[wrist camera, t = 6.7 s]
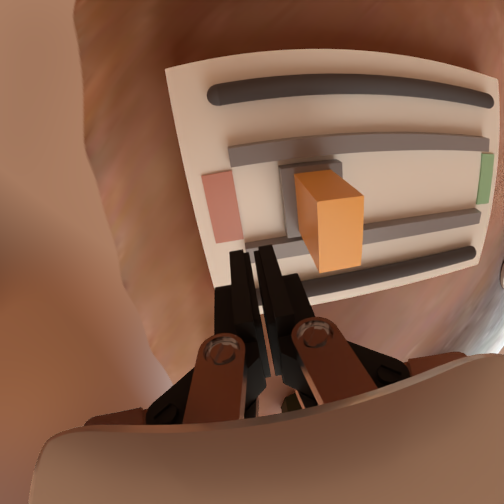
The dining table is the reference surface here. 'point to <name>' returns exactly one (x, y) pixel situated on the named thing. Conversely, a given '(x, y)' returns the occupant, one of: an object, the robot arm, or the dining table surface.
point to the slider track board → (343, 149)
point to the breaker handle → (323, 212)
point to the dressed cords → (356, 85)
